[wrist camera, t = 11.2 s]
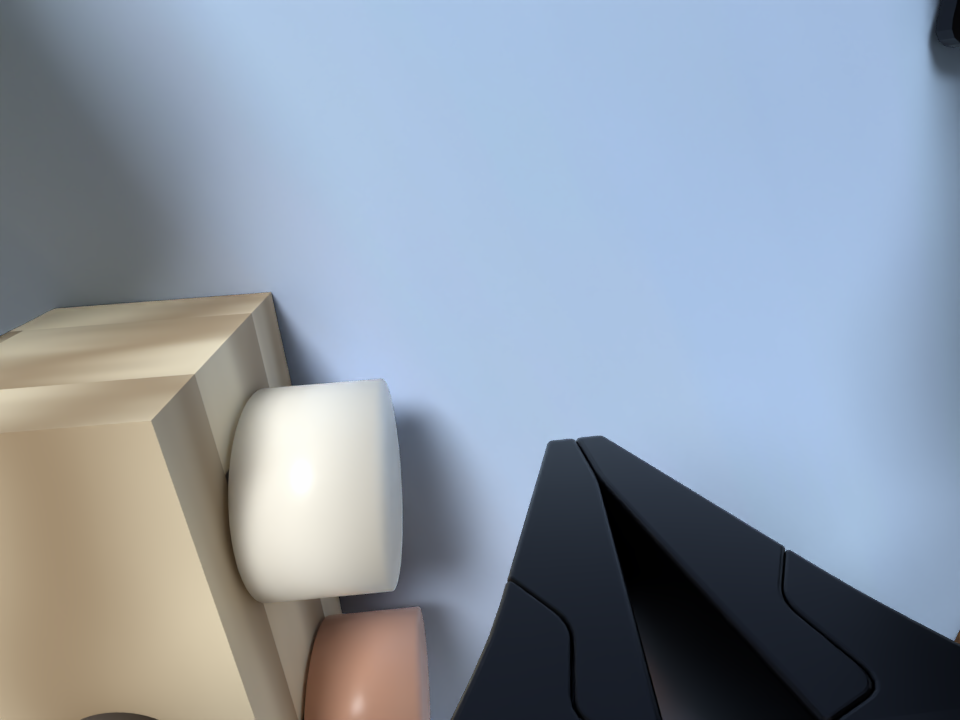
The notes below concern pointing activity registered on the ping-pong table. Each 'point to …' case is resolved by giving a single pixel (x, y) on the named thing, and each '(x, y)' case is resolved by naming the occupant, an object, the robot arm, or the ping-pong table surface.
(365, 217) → the ping-pong table surface
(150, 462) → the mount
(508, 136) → the ping-pong table surface
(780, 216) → the ping-pong table surface
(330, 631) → the knob
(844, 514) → the ping-pong table surface
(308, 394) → the knob
